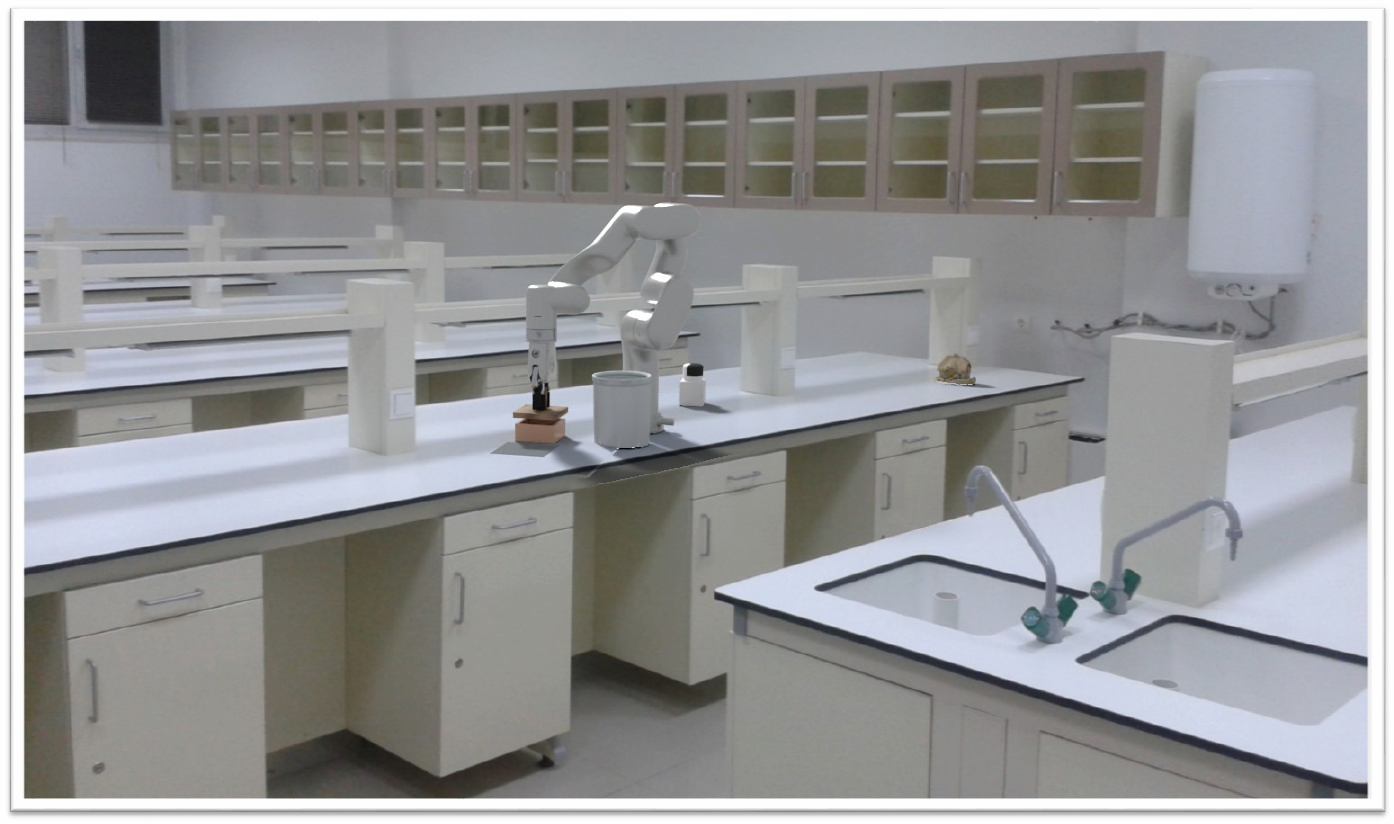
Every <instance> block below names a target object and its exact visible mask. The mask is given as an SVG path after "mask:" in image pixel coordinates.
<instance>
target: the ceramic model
mask: <svg viewBox="0 0 1394 824" xmlns="http://www.w3.org/2000/svg"><path fill="white" fill-rule="evenodd" d="M936 366H937V367H936V371H938V376H936V377H935V378H934V381H935V380H937V381H941V382H947V383H956V384H967V385H968V384H974V383H976V381H977V380H976V379H977V377H975V376H973V377H971V373H972V364H971V361H970V360H968V359H967V358H966V357H964V356H961V355H959V354H958V353H953V355H949V354H948V355H945V357H944V358H943V359H942V360H941V361H939V362H938V364H937V365H936Z"/></svg>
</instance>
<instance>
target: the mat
mask: <svg viewBox="0 0 1394 824" xmlns="http://www.w3.org/2000/svg"><path fill="white" fill-rule="evenodd" d="M557 447H559V445H558V444H547V443H532V442H517V441H515V442H514V441H513V442H512V441H511V442H510V441H507V442H505V443H504V444H502V445H500V446H499V447H497V448H496V449H494V450H493V451H491V452H490V454H491V455H492V454H495V455H507V456H509V455H510V456H524V457H525V456H526V457H538V458H545V457H546V456H547V455H548V454H550V453H551V452H553V450H555V449H557Z"/></svg>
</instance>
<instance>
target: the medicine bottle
mask: <svg viewBox="0 0 1394 824" xmlns="http://www.w3.org/2000/svg"><path fill="white" fill-rule="evenodd" d="M706 383H707V379H705V378H704V365H702V364H701V363H696V362H692V363H691V362H689V363H685V364H683V365H682V378H681V380H680V381H679V383H678V384H679V385H678V387H679V391H678V406H679V405H682V406H681V407H700V408H701V407H704V406H705V403H706V388H707V387H706V386H707V384H706Z"/></svg>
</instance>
